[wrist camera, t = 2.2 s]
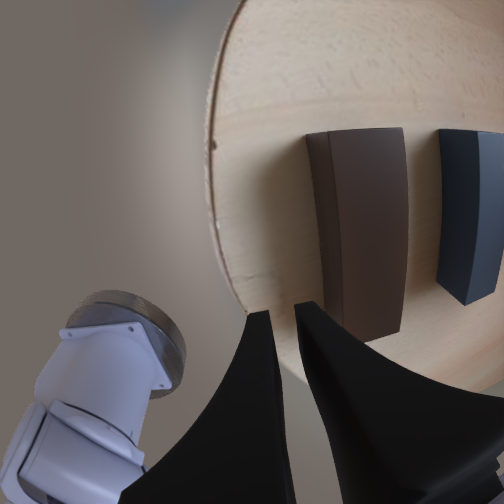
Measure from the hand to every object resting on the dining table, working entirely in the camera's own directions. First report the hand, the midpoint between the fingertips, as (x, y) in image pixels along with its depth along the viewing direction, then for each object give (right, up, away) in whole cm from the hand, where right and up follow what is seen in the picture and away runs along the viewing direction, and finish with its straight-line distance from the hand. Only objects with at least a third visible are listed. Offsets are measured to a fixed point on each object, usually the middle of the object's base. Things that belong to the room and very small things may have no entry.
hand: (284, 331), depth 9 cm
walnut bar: (+5, +4, +8) cm, 10 cm away
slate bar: (+15, +6, +8) cm, 18 cm away
